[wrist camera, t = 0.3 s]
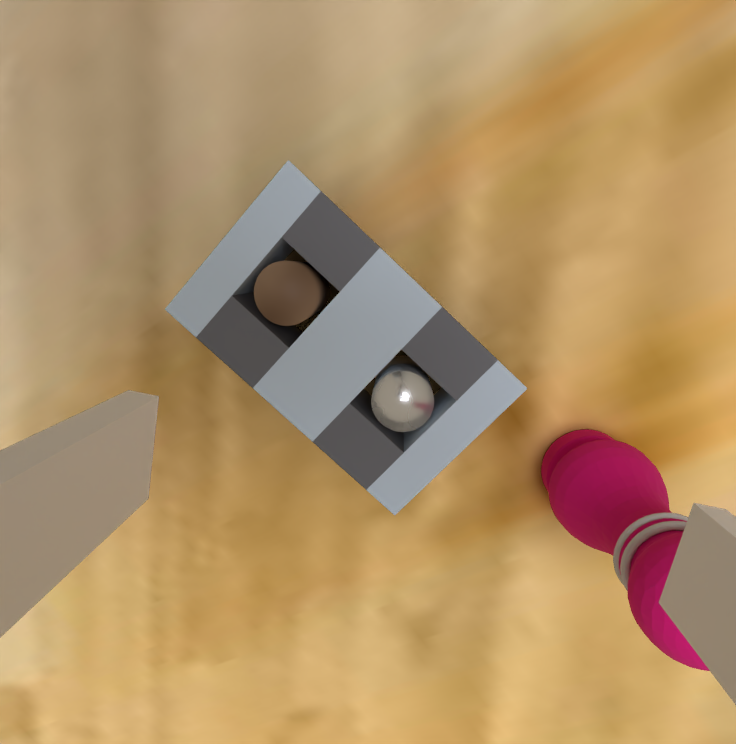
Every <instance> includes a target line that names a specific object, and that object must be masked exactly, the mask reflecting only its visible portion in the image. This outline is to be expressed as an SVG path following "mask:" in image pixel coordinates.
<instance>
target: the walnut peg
mask: <svg viewBox="0 0 736 744" xmlns="http://www.w3.org/2000/svg"><path fill="white" fill-rule="evenodd" d="M329 296H330V284H329V281H328V280H327V279H326V278H325V277H324V276H322V275H321V274H320V273H319V272H318V271H317V270H316V269H315V268H314V267H313V266H312V265H311V264H310V263H309V262H300V261H278V262H274V263H272V264H270V265H268V266H267V267H265V268H264V269H263V270H262V271H261V273H260V274H259V276H258V277H257V279H256V282H255V286H254V298H255V302H256V305H257V307H258V309H259V311H260V312H261V313H262V315H263V316H264V317H265V318H267V319H268V320H269V321H271V322H273V323H275V324H278V325H282V326H292V325H296V324H299V323H301V322H303V321H304V320H306V319H308V318H310V317H312V316H313V315H315V314H317V313H319V312H320V311H321V310H322V309H323V308H324V307H325V306H326V304H327V302H328V300H329Z"/></svg>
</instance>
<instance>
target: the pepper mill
mask: <svg viewBox="0 0 736 744" xmlns="http://www.w3.org/2000/svg"><path fill="white" fill-rule="evenodd" d="M541 475H542V480H543V483H544V485H545V487H546V489H547V491H548V493H549V500H550V504H551V507H552V510H553V512H554V514H555V516H556V518H557V519H558V520H559V522H560V523H561V524H562V525H563V527H564V528H565V529H566V530H567V531H568V532H569V533H570V534H571V535H572V536H574V537H575V538H577V539H578V540H580V541H581V542H583V543H584V544H586V545H588V546H590V547H592V548H595V549H598V550H600V551H603V552H606V553H609V554H611V555H613V563H614V568H615V572H616V574H617V576H618V578H619V580H620V581H621V583H622V584H623V585H624V586H625V588H626V589H627V591H628V600H629V604H630V608H631V611H632V614H633V616H634V618H635V620H636V622H637V624H638V625H639V627H640V628H641V629H642V631H643V632H644V634H645V635H646V636H647V637H648V638H649V640H650V641H651V642H652V643H653V644H654V645H655V646H657V647H658V648H659V649H660V650H661V651H662V652H663V653H665V654H666V655H668V656H669V657H671V658H672V659H674V660H676V661H678V662H680V663H682V664H685V665H687V666H689V667H692V668H696V669H701V670H706V671H710V670H709V669H708V667H707V666H706V665H705V664H704V662H703V661H702V660H701V658H700V657H699V656H698V654H697V653H696V652H695V650H694V649H693V648H692V646H691V645H690V644H689V642H688V641H687V640H686V638H685V637H684V636H683V634H682V633H681V632H680V630H679V629H678V628H677V626H676V625H675V624H674V622H673V621H672V620H671V618H670V617H669V616H668V615H667V613H666V612H665V611H664V609H663V608H662V607H661V605H660V604H659V600H660V597H661V594H662V592H663V589H664V586H665V583H666V580H667V577H668V574H669V572H670V569H671V566H672V563H673V560H674V557H675V555H676V552H677V549H678V546H679V543H680V540H681V538H682V535H683V532H684V529H685V526H686V523H687V520H688V518H689V517H686V516H683V515H681V514H676V513H672V512H671V511H670V510H669V500H668V494H667V490H666V487H665V484H664V482H663V479H662V477H661V474H660V473H659V471H658V470H657V468H656V467H655V465H654V464H653V463H652V462H651V461H650V460H649V459H648V458H647V457H646V456H645V455H644V454H643V453H642V452H640V451H639V450H638V449H636V448H634V447H632V446H630V445H628V444H626V443H623V442H619V441H615V440H614V439H613V438H611V437H610V436H608V435H607V434H605V433H602V432H599V431H595V430H589V429H585V430H576V431H573V432H570V433H567V434H565V435H563V436H562V437H560V438H558V439H557V440H556V441H555V442H554V443H553V444H552V445H551V446H550V447H549V449H548V450H547V452H546V453H545V456H544V458H543V462H542V466H541Z"/></svg>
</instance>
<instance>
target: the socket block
mask: <svg viewBox="0 0 736 744" xmlns="http://www.w3.org/2000/svg"><path fill="white" fill-rule="evenodd" d="M294 249H295V250H296V251H297V252H298V253H299V254H300V255H301V256H302V257H303V258H304V259H305V260H306V261H308V262H309V263H310V264H311V265H312V266H313V267H314V268H315V269H316V270H317V271H318V272H319V273H320V274H321V275H322V276H324V277H325V278H326V279H327V280H328V281H329V282H330V283H331V284H332V285H333V286H334V287H335V288H336V289H337V290H338V291H340V292H339V293H338V294H337V296H336V297H335V298H334V299H333V300H332V301H331V302H330V303H329V304H328V306H327V307H326V308H325V309H324V310H323V311H322V312H321V313H320V314H319V315H318V317H317V318H316V319H315V320H314V321H313V322H312V323H311V324H310V325H309V327H308V328H307V329H306V330H305V331H304V332H301V331H300V330H299V329H298V328H297V327H296V326H295V325H292V326H282V325H278V324H275V323H273V322H271V321H269V320H268V319H267V318H265V317H264V316H263V315H262V313H261V312H260V311H259V309H258V307H257V305H256V302H255V298H254V286H255V282H256V279H257V277H258V276H259V274H260V273H261V271H262V270H263V269H264V268H265V267H267V266H268V265H270V264H272V263H274V262H278V261H284V260H285V259H286V258H287V257H288V256H289V254H290V253H291V252H292V251H293V250H294ZM165 310H166V311H167V312H168V313H169V314H171V315H172V316H173V317H174V318H175V319H176V320H177V321H178V322H179V323H181V324H182V325H183V326H184V327H185V328H186V329H187V330H188V331H190V332H191V333H192V334H193V335H194V336H195V337H196V338H197V339H198V340H200V341H201V342H202V343H203V344H204V345H205V346H206V347H207V348H208V349H210V350H211V351H212V352H213V353H214V354H215V355H216V356H217V357H219V358H220V359H221V360H222V361H223V362H224V363H225V364H226V365H227V366H229V367H230V368H231V369H232V370H233V371H234V372H235V373H236V374H238V375H239V376H240V377H241V378H242V379H243V380H244V381H245V382H246V383H248V384H249V385H250V386H251V387H252V388H253V389H254V390H255V391H256V392H258V393H259V394H260V395H261V396H262V397H263V398H264V399H265V400H267V401H268V402H269V403H270V404H271V405H272V406H273V407H274V408H275V409H277V410H278V411H279V412H280V413H281V414H282V415H283V416H284V417H286V418H287V419H288V420H289V421H290V422H291V423H292V424H293V425H294V426H296V427H297V428H298V429H299V430H300V431H301V432H302V433H303V434H304V435H306V436H307V437H308V438H309V439H310V440H311V441H312V442H313V443H315V444H316V445H317V446H318V447H319V448H320V449H321V450H322V451H323V452H325V453H326V454H327V455H328V456H329V457H330V458H331V459H332V460H334V461H335V462H336V463H337V464H338V465H339V466H340V467H341V468H342V469H344V470H345V471H346V472H347V473H348V474H349V475H350V476H351V477H353V478H354V479H355V480H356V481H357V482H358V483H359V484H360V485H361V486H363V487H364V488H365V489H366V490H367V491H368V492H369V493H370V494H371V495H373V496H374V497H375V498H376V499H377V500H378V501H379V502H380V503H382V504H383V505H384V506H385V507H386V508H387V509H388V510H389V511H390V512H392V513H393V514H394V515H396V514H397V513H398V512H399V511H400V510H401V509H402V508H403V507H404V506H405V505H406V504H407V503H408V502H409V501H410V500H412V499H413V498H414V497H415V496H416V495H417V494H418V493H419V492H420V491H421V490H422V489H423V488H424V487H425V486H426V485H427V484H428V483H429V482H430V481H431V480H432V479H433V478H435V477H436V476H437V475H438V474H439V473H440V472H441V471H442V470H443V469H444V468H445V467H446V466H447V465H448V464H449V463H450V462H451V461H452V460H453V459H454V458H455V457H456V456H458V455H459V454H460V453H461V452H462V451H463V450H464V449H465V448H466V447H467V446H468V445H469V444H470V443H471V442H472V441H473V440H474V439H475V438H476V437H477V436H478V435H479V434H480V433H482V432H483V431H484V430H485V429H486V428H487V427H488V426H489V425H490V424H491V423H492V422H493V421H494V420H495V419H496V418H497V417H498V416H499V415H500V414H501V413H502V412H503V411H505V410H506V409H507V408H508V407H509V406H510V405H511V404H512V403H513V402H514V401H515V400H516V399H517V398H518V397H519V396H520V395H521V394H522V393H523V392H524V391H525V390H526V389H527V388H526V387H525V386H524V385H523V384H522V383H521V382H520V381H519V380H518V379H517V378H516V377H515V376H514V375H513V374H512V373H511V372H510V371H509V370H508V369H507V368H506V367H505V366H503V365H502V364H501V363H500V362H499V361H498V360H497V359H496V358H495V357H494V356H493V355H492V354H491V353H490V352H489V351H488V350H487V349H486V348H485V347H484V346H483V345H482V344H480V343H479V342H478V341H477V340H476V339H475V338H474V337H473V336H472V335H471V334H470V333H469V332H468V331H467V330H466V329H465V328H464V327H463V326H462V325H461V324H460V323H458V322H457V321H456V320H455V319H454V318H453V317H452V316H451V315H450V314H449V313H448V312H447V311H446V310H445V309H444V308H443V307H442V306H441V305H440V304H439V303H438V302H437V301H435V300H434V299H433V298H432V297H431V296H430V295H429V294H428V293H427V292H426V291H425V290H424V289H423V288H422V287H421V286H420V285H419V284H418V283H417V282H416V281H415V280H414V279H412V278H411V277H410V276H409V275H408V274H407V273H406V272H405V271H404V270H403V269H402V268H401V267H400V266H399V265H398V264H397V263H396V262H395V261H394V260H393V259H392V258H390V257H389V256H388V255H387V254H386V253H385V252H384V251H383V250H382V249H381V248H380V247H379V246H378V245H377V244H376V243H375V242H374V241H373V240H372V239H371V238H370V237H369V236H367V235H366V234H365V233H364V232H363V231H362V230H361V229H360V228H359V227H358V226H357V225H356V224H355V223H354V222H353V221H352V220H351V219H350V218H349V217H348V216H347V215H346V214H344V213H343V212H342V211H341V210H340V209H339V208H338V207H337V206H336V205H335V204H334V203H333V202H332V201H331V200H330V199H329V198H328V197H327V196H326V195H325V194H324V193H322V192H321V191H320V190H319V189H318V188H317V187H316V186H315V185H314V184H313V183H312V182H311V181H310V180H309V179H308V178H307V177H306V176H305V175H304V174H303V173H302V172H300V171H299V170H298V169H297V168H296V167H295V166H294V165H293V164H292V163H291V162H290V161H289V160H288V161H287V162H286V163H285V164H284V166H283V167H282V168H281V169H280V171H279V172H278V173H277V174H276V175H275V177H274V178H273V179H272V180H271V181H270V183H269V184H268V185H267V186H266V187H265V189H264V190H263V191H262V192H261V193H260V195H259V196H258V197H257V198H256V200H255V201H254V202H253V203H252V204H251V206H250V207H249V208H248V209H247V210H246V212H245V213H244V214H243V215H242V216H241V218H240V219H239V220H238V221H237V222H236V224H235V225H234V226H233V227H232V229H231V230H230V231H229V232H228V233H227V235H226V236H225V237H224V238H223V239H222V241H221V242H220V243H219V244H218V245H217V247H216V248H215V249H214V250H213V252H212V253H211V254H210V255H209V256H208V258H207V259H206V260H205V261H204V262H203V264H202V265H201V266H200V267H199V268H198V270H197V271H196V272H195V273H194V274H193V276H192V277H191V278H190V279H189V281H188V282H187V283H186V284H185V285H184V287H183V288H182V289H181V290H180V291H179V293H178V294H177V295H176V296H175V297H174V299H173V300H172V301H171V302H170V303H169V305H168V306H167V307H166V308H165ZM400 350H403V351H404V352H405V353H406V354H407V355H408V356H409V357H410V358H411V359H412V360H413V361H414V362H415V363H416V364H418V365H419V366H420V367H421V368H422V369H423V370H424V371H425V372H426V373H427V374H428V375H429V376H430V377H431V378H432V379H434V380H435V381H436V382H437V383H438V384H439V385H440V386H441V388H440V389H439V390H438V391H437V392H436V393H435V394H434V395H433V396H434V408H433V411H432V414H431V416H430V417H429V419H428V420H427V421H426V423H425V424H423V425H422V426H421V427H419V428H417V429H415V430H412V431H408V432H398V431H393V430H391V429H388V428H386V427H385V426H383V425H382V424H381V423H380V422H379V421H378V420H377V418H376V417H375V415H374V413H373V410H372V405H371V398H372V396H371V395H370V394H369V393H368V392H367V391H366V390H365V389H364V388H365V387H366V386H367V385H368V383H369V382H370V381H371V380H372V379H373V378H374V377H375V376H376V375H377V374H378V373H379V372H380V371H381V370H382V369H383V368H384V367H385V366H386V365H387V364H388V363H389V362H390V361H391V360H392V359H393V358H394V356H395V355H396V354H397V353H398V352H399V351H400Z"/></svg>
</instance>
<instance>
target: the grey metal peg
mask: <svg viewBox="0 0 736 744" xmlns="http://www.w3.org/2000/svg"><path fill="white" fill-rule="evenodd" d="M371 405H372V410H373V413H374V415H375V417H376V418H377V420H378V421H379V422H380V423H381V424H382V425H383V426H385V427H386V428H388V429H391V430H393V431H398V432H408V431H412V430H415V429H417V428H419V427H421V426H422V425H423V424H425V423H426V421H427V420H428V419H429V417H430V416H431V414H432V411H433V408H434V396H433V391H432V387H431V383H430V379H429V375H428V374H427V373H426V372H425V371H424V370H423V369H422V368H421V367H420V366H419V365H418V364H416V363H415V362H414V361H413V360H412V359H411V358H410V357H409V356H396V357H394V358H393V359H392V360H391V361H390V362H389V363H388V364H387V365H386V366H385V367H384V368H383V369H382V370H381V371H380V372H379V373H378V374H377V375H376V380H375V384H374V388H373V393H372V398H371Z"/></svg>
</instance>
